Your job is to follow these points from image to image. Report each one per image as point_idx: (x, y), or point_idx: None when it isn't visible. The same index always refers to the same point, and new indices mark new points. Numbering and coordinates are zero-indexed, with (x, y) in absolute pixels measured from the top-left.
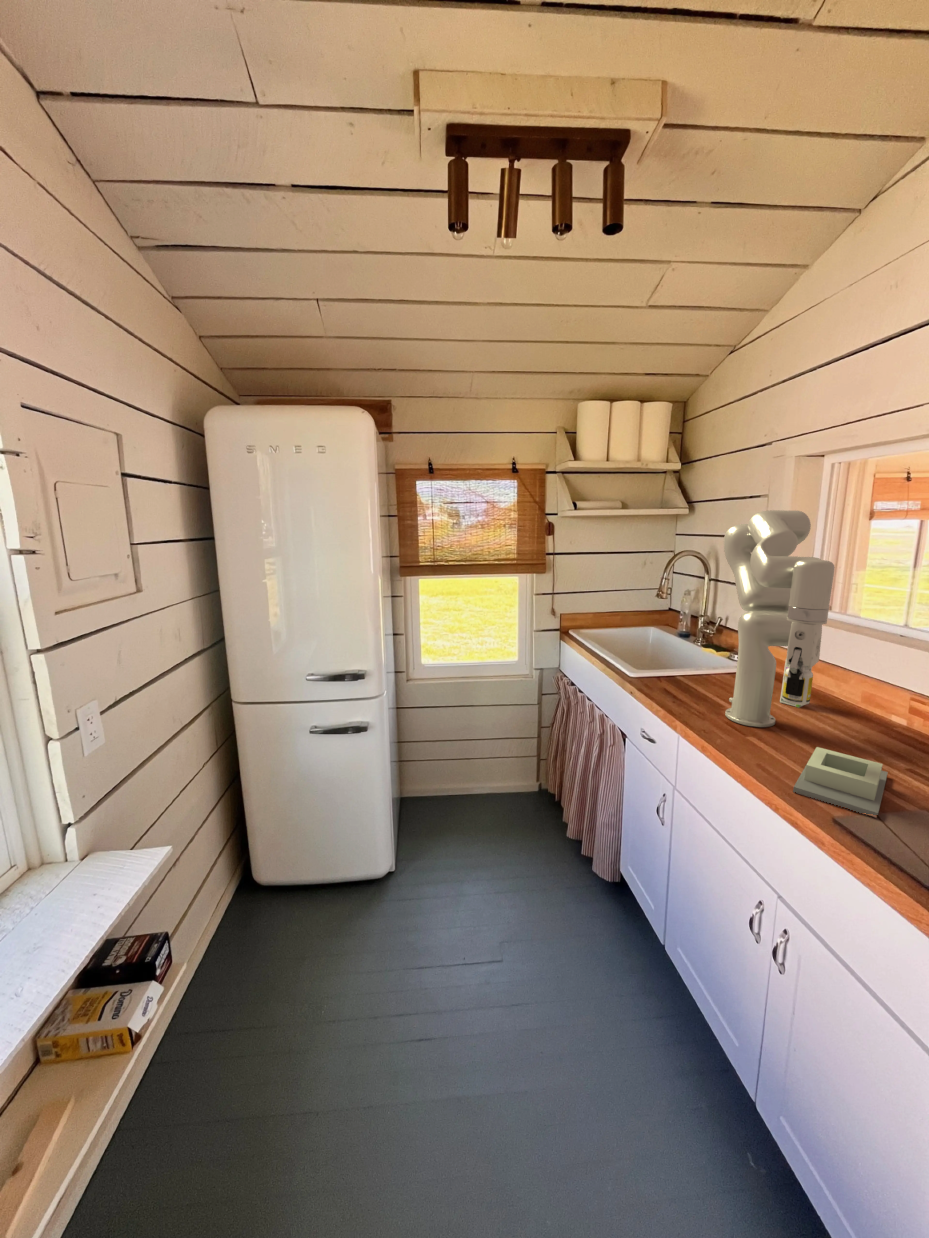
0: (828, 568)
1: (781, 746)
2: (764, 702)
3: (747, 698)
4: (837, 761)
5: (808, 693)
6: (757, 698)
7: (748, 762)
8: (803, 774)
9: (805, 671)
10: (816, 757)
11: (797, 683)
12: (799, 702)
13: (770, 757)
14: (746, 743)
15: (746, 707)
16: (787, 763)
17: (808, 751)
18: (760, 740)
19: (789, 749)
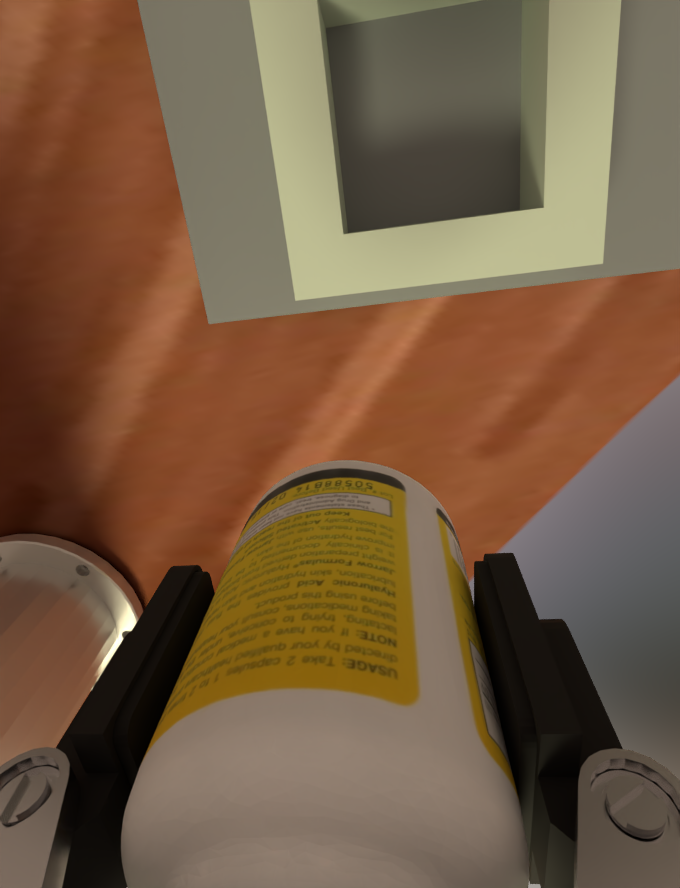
0: None
1: (220, 445)
2: (7, 641)
3: (58, 705)
4: (338, 174)
5: (389, 526)
6: (29, 680)
7: (496, 481)
8: (512, 278)
9: (408, 881)
10: (452, 256)
11: (604, 724)
12: (446, 519)
13: (375, 440)
14: None
15: (84, 665)
16: (380, 373)
17: (171, 351)
18: (233, 518)
19: (222, 413)
